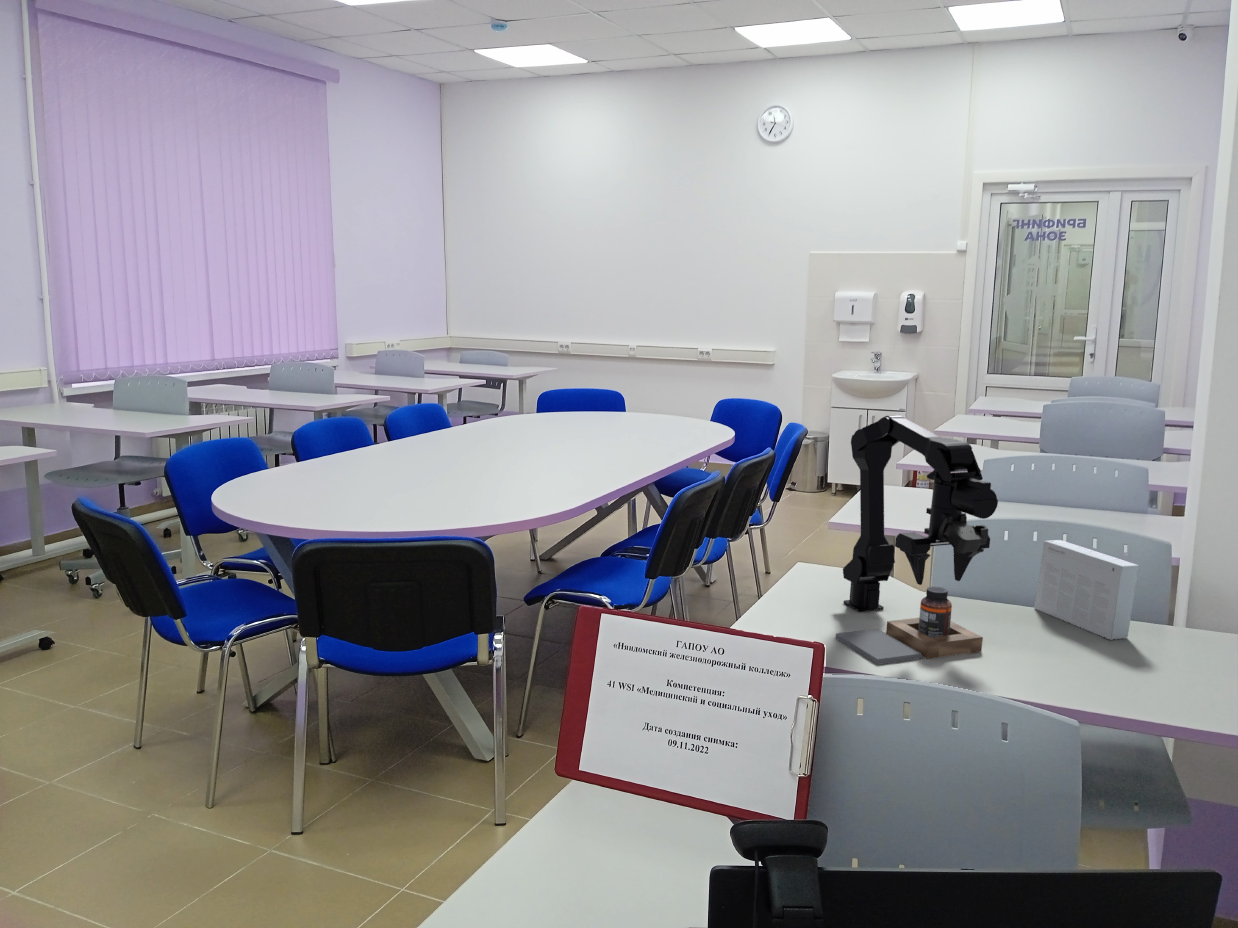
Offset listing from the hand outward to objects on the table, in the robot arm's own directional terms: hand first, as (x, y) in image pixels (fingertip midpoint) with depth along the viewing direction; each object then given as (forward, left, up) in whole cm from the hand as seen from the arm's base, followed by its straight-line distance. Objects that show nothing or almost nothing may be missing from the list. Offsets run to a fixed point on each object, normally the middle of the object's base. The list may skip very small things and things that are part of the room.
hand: (938, 582), depth 193 cm
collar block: (0, 0, -13) cm, 13 cm away
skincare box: (-1, +40, -13) cm, 42 cm away
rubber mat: (-1, -12, -13) cm, 18 cm away
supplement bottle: (0, 0, -13) cm, 13 cm away
